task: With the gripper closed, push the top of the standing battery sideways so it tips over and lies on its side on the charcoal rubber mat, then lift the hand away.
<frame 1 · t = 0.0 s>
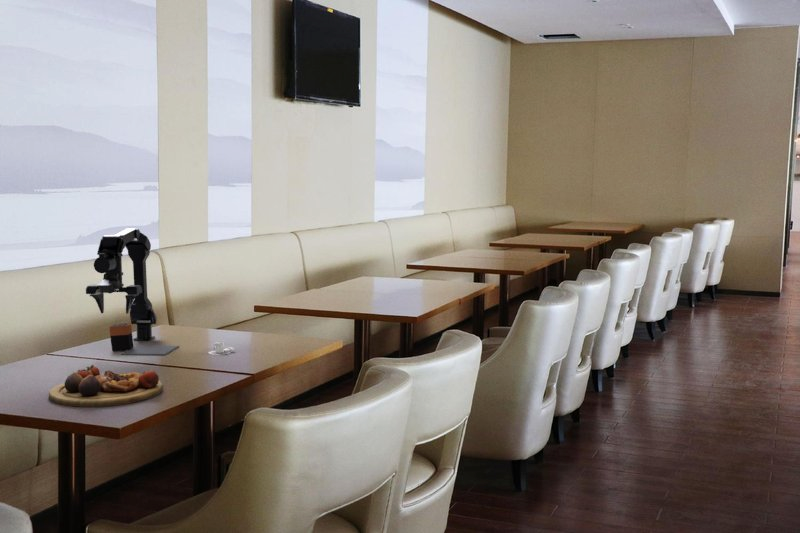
hand: (114, 313, 321), 15 cm above the table, tool pointing down, fingers open, 9 cm apart
wooden plate with food: (107, 395, 265), on the table
battery: (123, 349, 328), on the table, touching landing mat
teacup and saucer: (225, 355, 323), on the table
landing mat: (150, 350, 328), on the table
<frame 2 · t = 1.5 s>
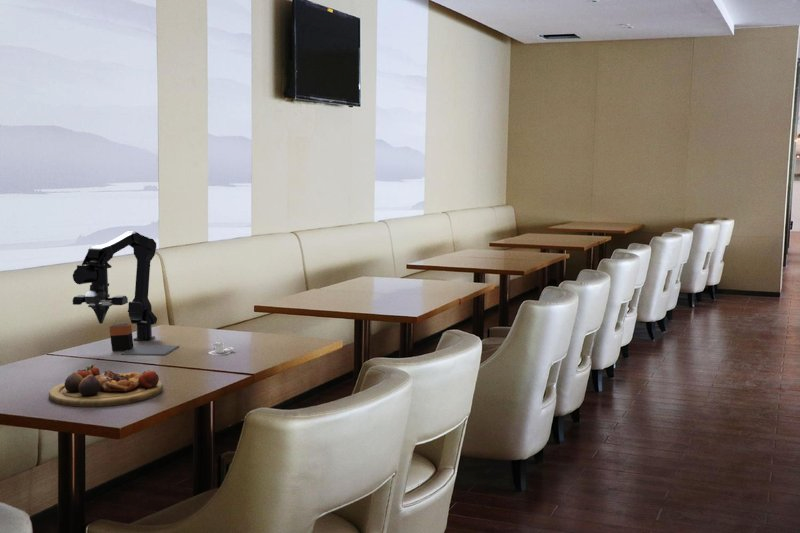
hand: (101, 323, 328), 10 cm above the table, tool pointing down, fingers closed
nothing on the table moved.
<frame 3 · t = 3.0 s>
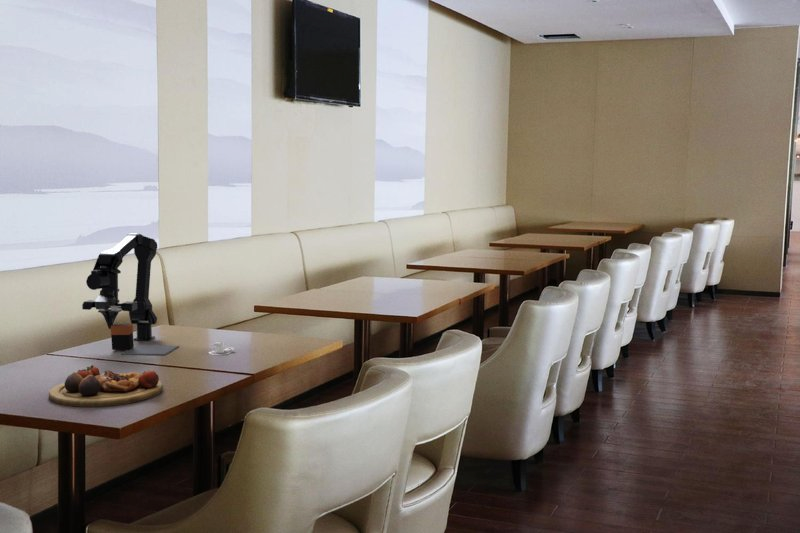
hand: (110, 328, 328), 8 cm above the table, tool pointing down, fingers closed
battery: (122, 349, 328), on the table, touching gripper, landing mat
everything else where it was.
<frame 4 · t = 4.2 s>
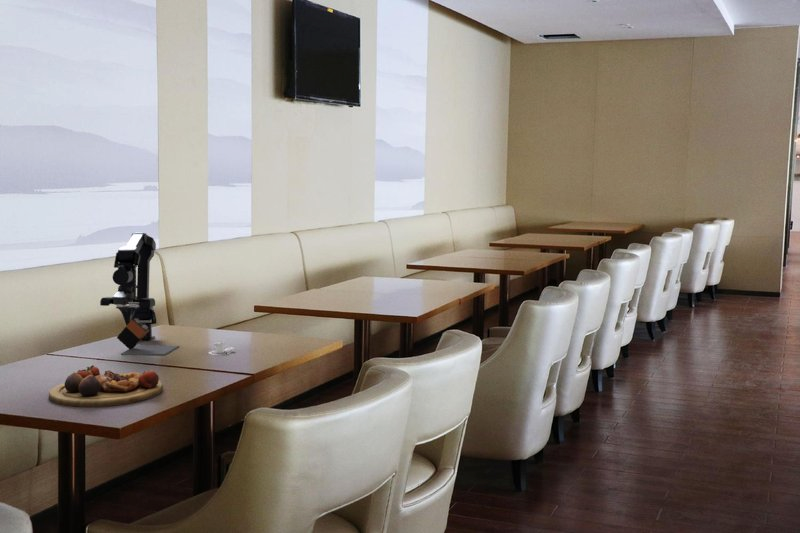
hand: (127, 325, 327), 9 cm above the table, tool pointing down, fingers closed, pressing on battery
battery: (124, 343, 328), point 3 cm above the table, touching gripper, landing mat
everything else where it was.
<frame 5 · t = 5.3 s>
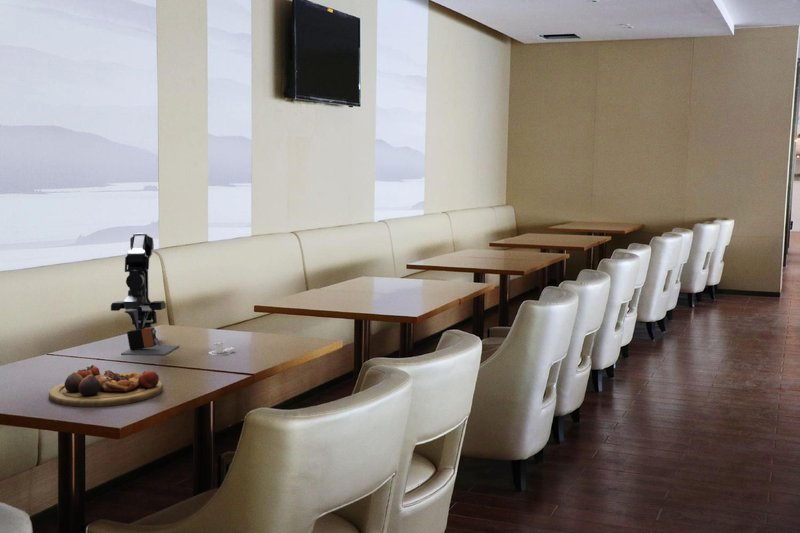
hand: (139, 329, 327), 8 cm above the table, tool pointing down, fingers closed
battery: (129, 340, 328), point 4 cm above the table, touching gripper, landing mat
everything else where it was.
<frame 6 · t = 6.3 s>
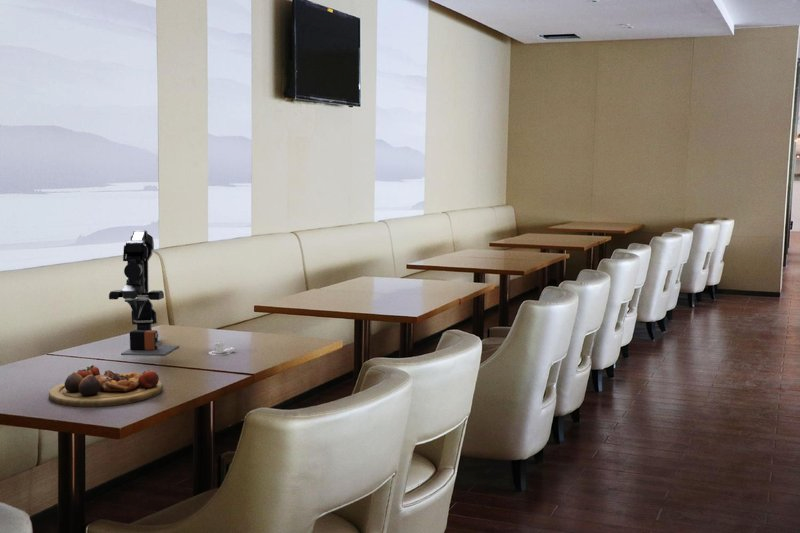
hand: (137, 318, 327), 12 cm above the table, tool pointing down, fingers closed
battery: (131, 339, 328), point 4 cm above the table, touching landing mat
everything else where it was.
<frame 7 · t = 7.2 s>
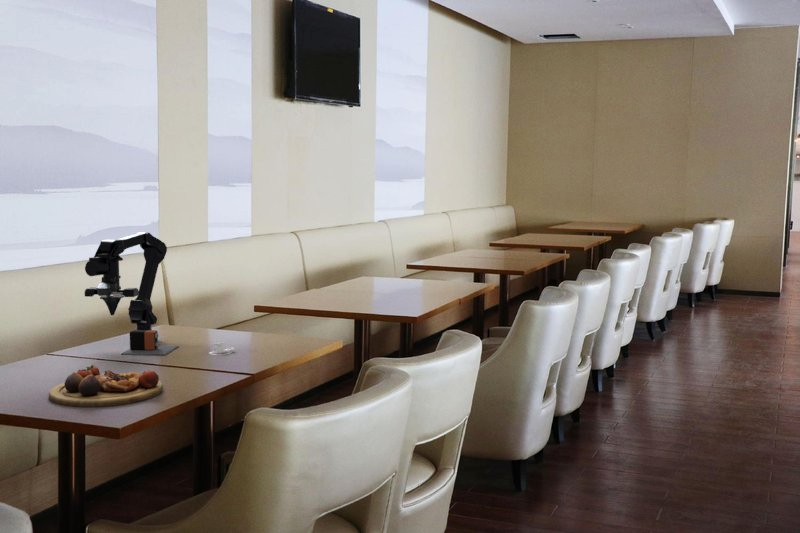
hand: (112, 315, 334), 12 cm above the table, tool pointing down, fingers closed
nothing on the table moved.
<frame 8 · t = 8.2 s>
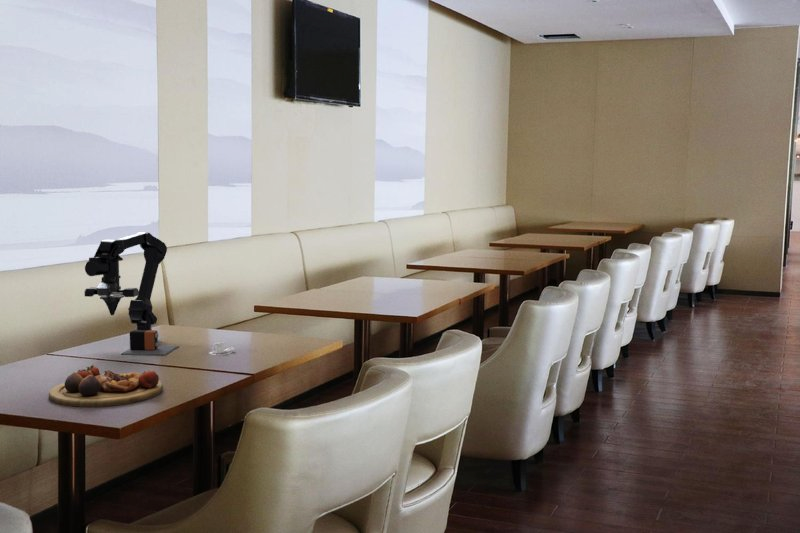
hand: (112, 315, 334), 12 cm above the table, tool pointing down, fingers closed
nothing on the table moved.
at the end: battery tilted 90°; battery touching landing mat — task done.
